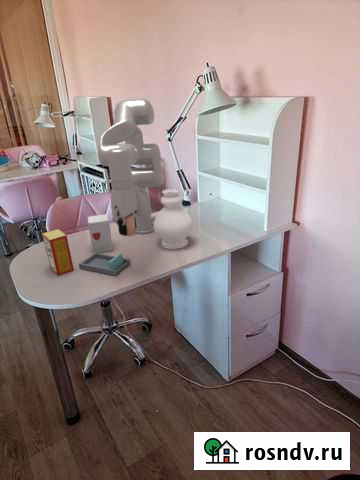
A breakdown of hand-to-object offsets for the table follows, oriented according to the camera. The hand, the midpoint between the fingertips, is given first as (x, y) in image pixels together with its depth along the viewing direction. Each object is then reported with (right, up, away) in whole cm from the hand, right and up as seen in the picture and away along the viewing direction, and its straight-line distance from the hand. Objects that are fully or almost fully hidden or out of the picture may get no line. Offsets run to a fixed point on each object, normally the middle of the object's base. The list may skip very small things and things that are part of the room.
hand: (128, 231), depth 125 cm
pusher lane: (-12, -14, +13) cm, 23 cm away
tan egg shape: (0, -1, 0) cm, 1 cm away
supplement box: (-16, -8, +29) cm, 34 cm away
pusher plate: (-6, -15, +10) cm, 19 cm away
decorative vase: (+17, -5, +30) cm, 35 cm away
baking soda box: (-29, -16, +13) cm, 36 cm away
